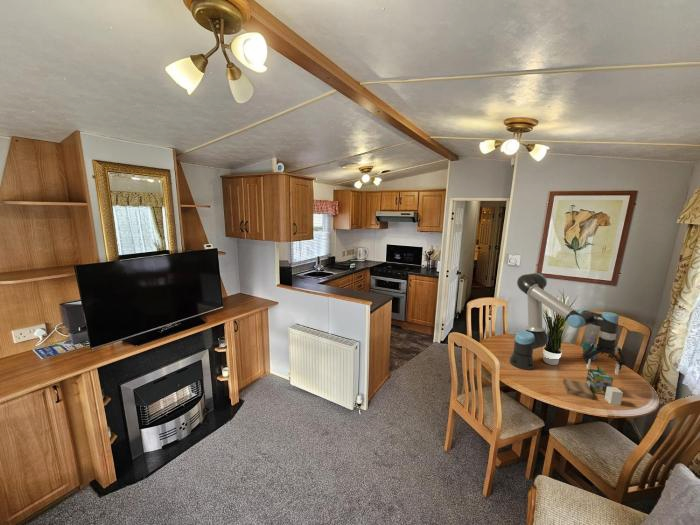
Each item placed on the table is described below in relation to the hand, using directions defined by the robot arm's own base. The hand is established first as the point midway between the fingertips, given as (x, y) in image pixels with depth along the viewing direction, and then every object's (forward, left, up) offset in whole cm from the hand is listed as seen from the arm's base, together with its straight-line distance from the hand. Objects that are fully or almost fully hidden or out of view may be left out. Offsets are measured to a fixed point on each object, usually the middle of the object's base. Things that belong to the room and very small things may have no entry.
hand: (601, 371), depth 176 cm
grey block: (+4, -11, -13) cm, 17 cm away
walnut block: (-12, -8, -13) cm, 20 cm away
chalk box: (0, 0, -13) cm, 13 cm away
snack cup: (+7, +48, -13) cm, 50 cm away
